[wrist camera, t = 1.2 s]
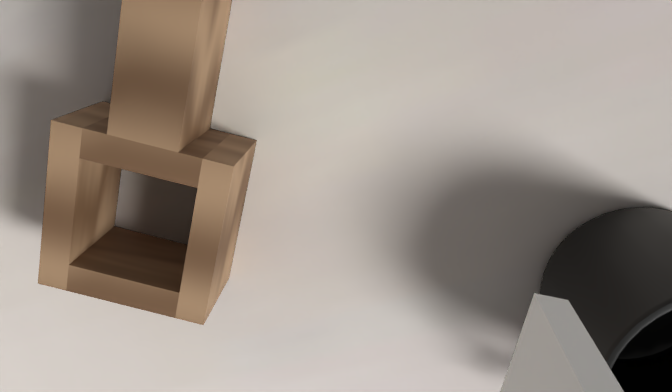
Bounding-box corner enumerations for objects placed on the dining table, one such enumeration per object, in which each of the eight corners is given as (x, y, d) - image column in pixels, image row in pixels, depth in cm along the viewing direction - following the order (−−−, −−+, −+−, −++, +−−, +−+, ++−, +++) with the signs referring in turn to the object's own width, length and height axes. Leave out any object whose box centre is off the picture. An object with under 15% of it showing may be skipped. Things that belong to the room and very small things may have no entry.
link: (145, -289, 25) (89, -358, 20) (333, -240, 25) (322, -297, 20) (87, 242, 33) (37, 283, 28) (228, 278, 33) (203, 324, 28)
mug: (486, 361, 33) (521, 485, 25) (593, 176, 30) (680, 248, 21) (633, 419, 34) (718, 560, 25) (758, 245, 30) (908, 343, 22)
